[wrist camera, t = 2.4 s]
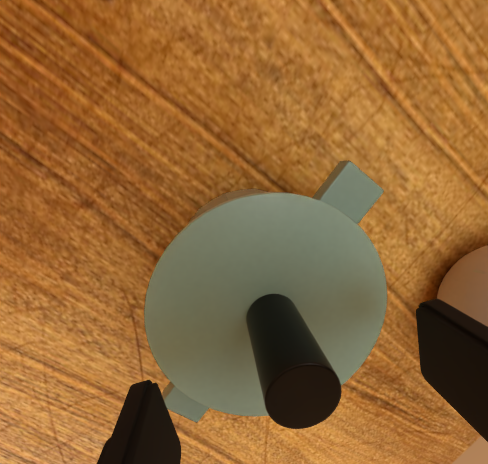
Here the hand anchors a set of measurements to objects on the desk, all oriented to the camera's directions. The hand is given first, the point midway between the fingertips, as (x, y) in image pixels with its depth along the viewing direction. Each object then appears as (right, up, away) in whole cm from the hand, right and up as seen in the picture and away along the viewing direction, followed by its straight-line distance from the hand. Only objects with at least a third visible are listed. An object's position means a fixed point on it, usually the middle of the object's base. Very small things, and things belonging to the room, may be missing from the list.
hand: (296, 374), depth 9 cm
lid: (-1, +1, +4) cm, 4 cm away
